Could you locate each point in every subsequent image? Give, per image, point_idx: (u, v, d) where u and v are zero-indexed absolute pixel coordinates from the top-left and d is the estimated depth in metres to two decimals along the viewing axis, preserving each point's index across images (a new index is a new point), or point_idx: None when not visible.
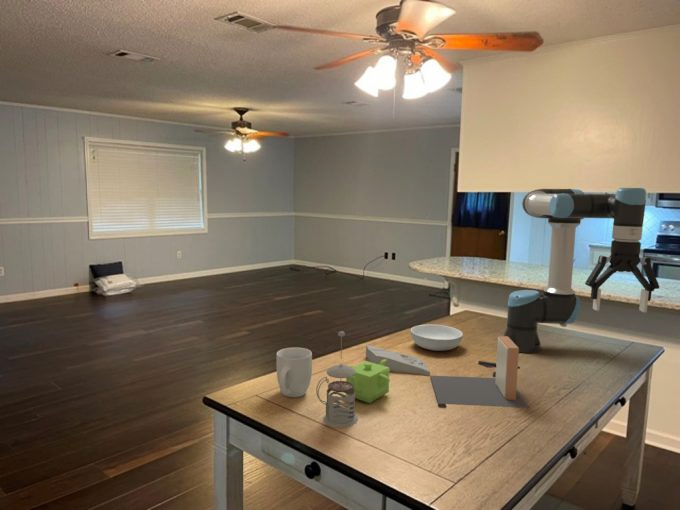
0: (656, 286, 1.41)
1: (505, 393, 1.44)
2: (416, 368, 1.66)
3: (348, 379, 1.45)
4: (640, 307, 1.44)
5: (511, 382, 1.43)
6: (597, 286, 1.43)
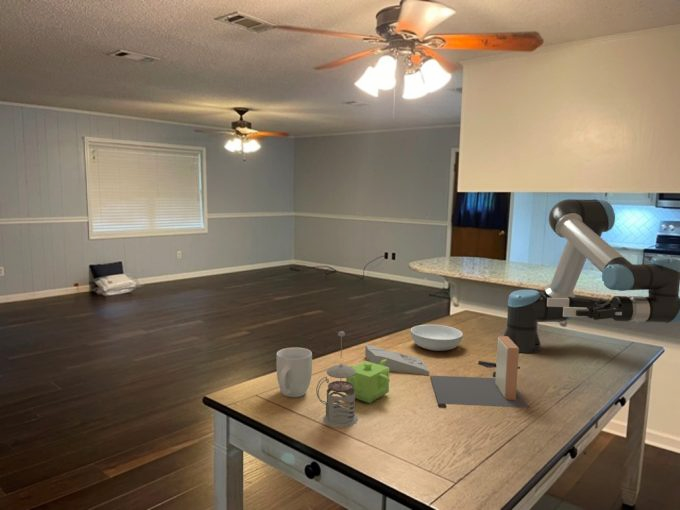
0: None
1: (505, 393, 1.44)
2: (415, 368, 1.67)
3: (348, 379, 1.45)
4: (551, 300, 1.52)
5: (511, 382, 1.43)
6: None
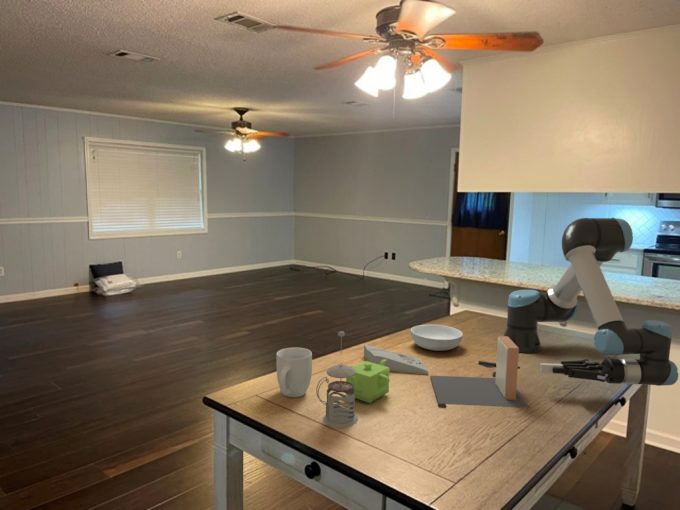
0: None
1: (505, 393, 1.44)
2: (414, 368, 1.67)
3: (348, 379, 1.45)
4: None
5: (511, 382, 1.43)
6: None
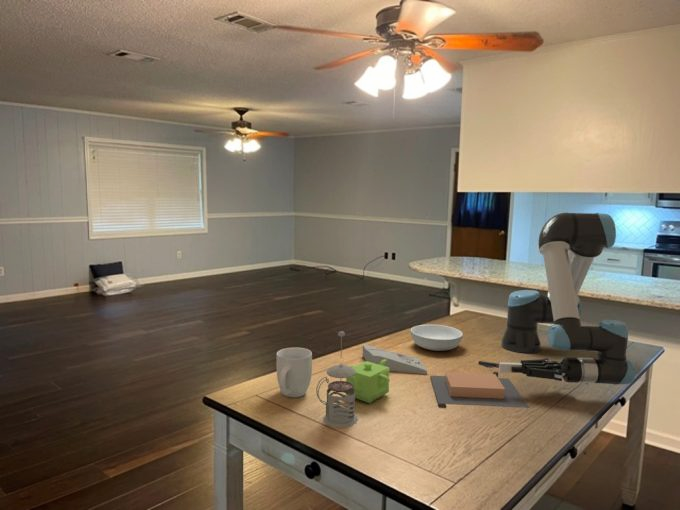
0: None
1: (498, 397, 1.45)
2: (413, 367, 1.67)
3: (348, 379, 1.45)
4: None
5: (486, 393, 1.44)
6: None
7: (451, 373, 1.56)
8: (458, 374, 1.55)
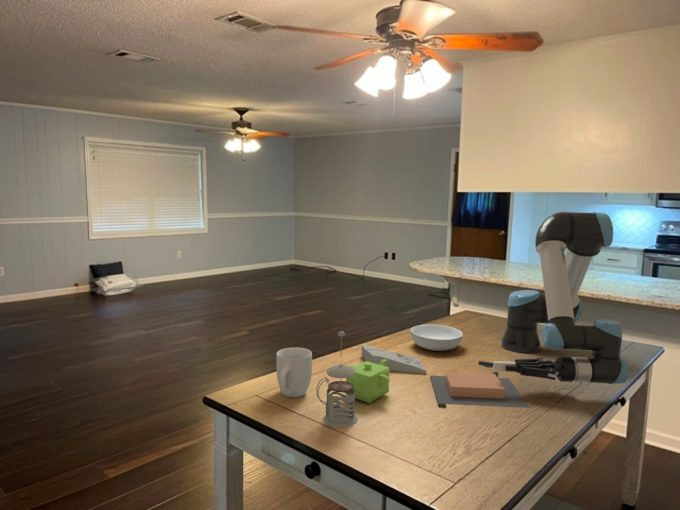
0: None
1: (498, 397, 1.45)
2: (412, 367, 1.67)
3: (348, 379, 1.45)
4: None
5: (486, 393, 1.44)
6: None
7: (451, 373, 1.56)
8: (458, 374, 1.55)
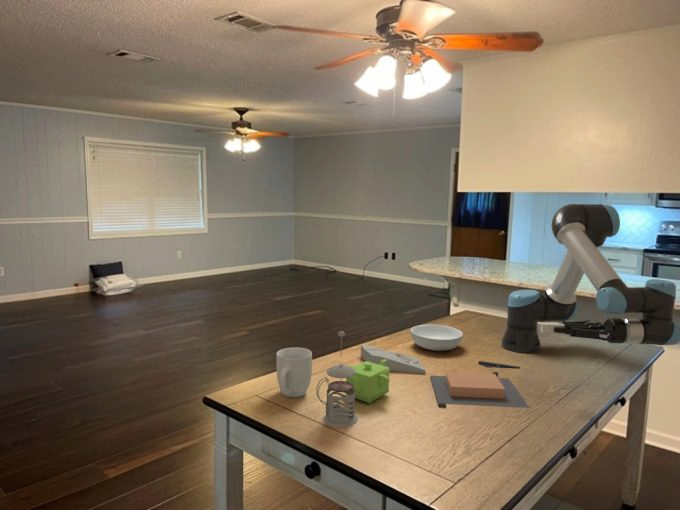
0: None
1: (498, 397, 1.45)
2: (412, 367, 1.67)
3: (348, 379, 1.45)
4: None
5: (486, 393, 1.44)
6: None
7: (451, 373, 1.56)
8: (458, 374, 1.55)
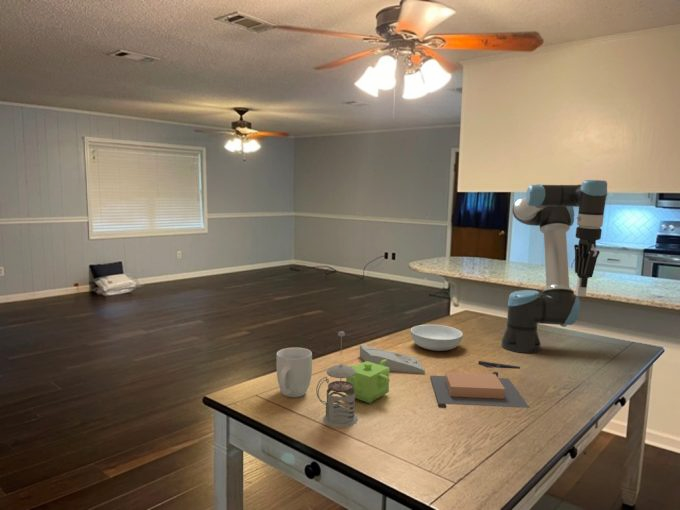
0: (583, 274, 1.59)
1: (498, 397, 1.45)
2: (411, 367, 1.67)
3: (348, 379, 1.45)
4: None
5: (486, 393, 1.44)
6: (577, 273, 1.63)
7: (451, 373, 1.56)
8: (458, 374, 1.55)
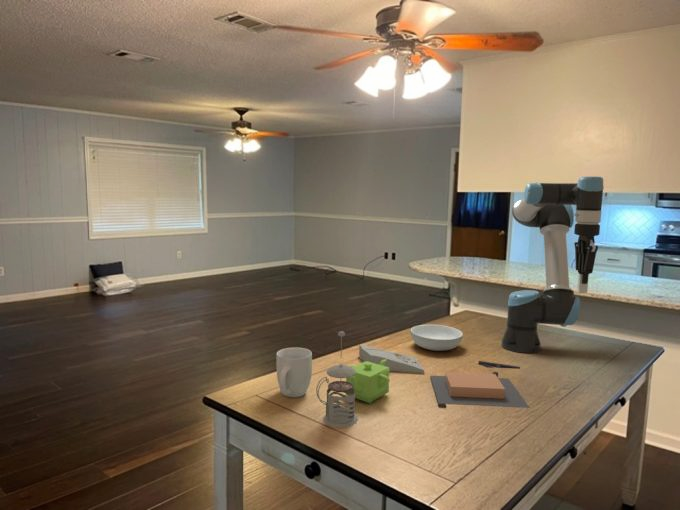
0: (583, 270, 1.59)
1: (498, 397, 1.45)
2: (410, 367, 1.68)
3: (348, 379, 1.45)
4: None
5: (486, 393, 1.44)
6: (578, 270, 1.63)
7: (451, 373, 1.56)
8: (458, 374, 1.55)
